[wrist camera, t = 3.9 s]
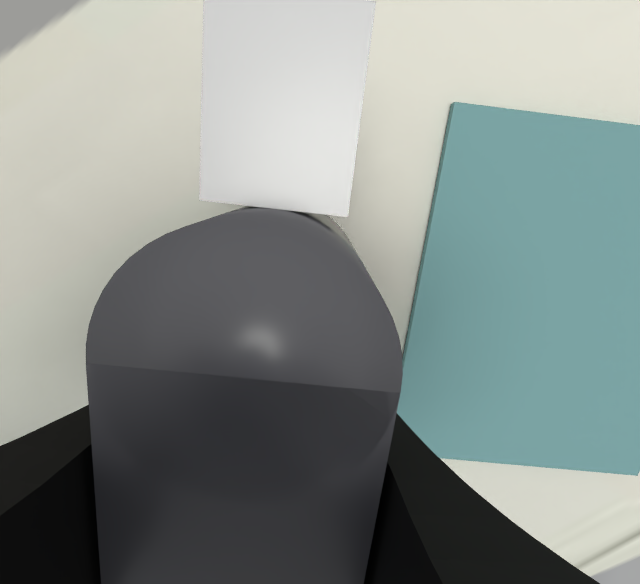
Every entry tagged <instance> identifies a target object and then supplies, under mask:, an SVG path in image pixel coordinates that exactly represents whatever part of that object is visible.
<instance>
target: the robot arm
mask: <svg viewBox="0 0 640 584" xmlns="http://www.w3.org/2000/svg"><path fill="white" fill-rule="evenodd" d="M0 584H101V575H100V560H99V546H98V531H97V517H96V502H95V488H94V473H93V459H92V444H91V430H90V415H89V405H87V406H85V407H83V408H81V409H79V410H77V411H75V412H73V413H71V414H69V415H67V416H65V417H63V418H61V419H58V420H56V421H54V422H52V423H50V424H48V425H46V426H44V427H42V428H39V429H37V430H35V431H33V432H31V433H29V434H27V435H25V436H23V437H20V438H18V439H16V440H13V441H11V442H9V443H7V444H4V445H2V446H0ZM364 584H600V583H598V582H597V581H595V580H594V579H592V578H591V577H589V576H588V575H586V574H585V573H583V572H582V571H580V570H579V569H577V568H576V567H574V566H573V565H571V564H570V563H568V562H567V561H566V560H564V559H563V558H561V557H560V556H559V555H557V554H556V553H554V552H553V551H552V550H550V549H549V548H547V547H546V546H545V545H543V544H542V543H540V542H539V541H538V540H536V539H535V538H533V537H532V536H531V535H529V534H528V533H527V532H525V531H524V530H523V529H521V528H520V527H519V526H517V525H516V524H515V523H513V522H512V521H511V520H510V519H508V518H507V517H506V516H505V515H503V514H502V513H501V512H500V511H499V510H497V509H496V508H495V507H494V506H492V505H491V504H490V503H489V502H488V501H486V500H485V499H484V498H483V497H481V496H480V495H479V494H478V493H477V492H475V491H474V490H473V489H472V488H471V487H470V486H469V485H467V484H466V483H465V482H464V481H463V480H462V479H461V478H460V477H459V476H458V475H456V474H455V473H454V472H453V471H452V470H451V469H450V468H449V467H448V466H447V465H446V464H445V463H444V462H443V461H442V460H441V459H440V458H439V457H438V456H437V455H436V454H435V453H434V452H433V451H432V450H431V449H430V448H429V447H428V446H427V445H426V444H425V443H424V442H423V441H422V440H421V439H420V438H419V437H418V436H417V435H416V434H415V433H414V432H413V431H412V429H411V428H410V427H409V426H408V425H407V424H406V423H405V422H404V421H403V419H402V418H401V417H400V416H399V415H398V414H396V419H395V424H394V429H393V435H392V440H391V445H390V450H389V455H388V460H387V466H386V471H385V476H384V481H383V486H382V491H381V497H380V502H379V507H378V512H377V517H376V522H375V527H374V533H373V538H372V543H371V548H370V553H369V558H368V564H367V569H366V574H365V579H364Z"/></svg>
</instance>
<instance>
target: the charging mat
mask: <svg viewBox="0 0 640 584" xmlns="http://www.w3.org/2000/svg"><path fill="white" fill-rule="evenodd" d="M402 365H403V377H402V385H401V393H400V398H399V404H398V409H397V414H398V415H399V416H400V417H401V418H402V419H403V421H404V422H405V423H406V424H407V425H408V426H409V427H410V428H411V429H412V431H413V432H414V433H415V434H416V435H417V436H418V437H419V438H420V439H421V440H422V441H423V442H424V443H425V444H426V445H427V446H428V447H429V448H430V449H431V450H432V451H433V452H434V453H435V454H436V455H437V456H438V457H439V458H445V459H456V460H468V461H479V462H490V463H501V464H513V465H524V466H535V467H546V468H558V469H569V470H580V471H591V472H602V473H614V474H625V475H636V476H638V473H639V471H640V125H633V124H625V123H617V122H609V121H601V120H593V119H585V118H577V117H570V116H562V115H554V114H546V113H538V112H530V111H522V110H514V109H506V108H498V107H490V106H482V105H475V104H467V103H459V102H454V103H452V104H451V107H450V112H449V118H448V123H447V128H446V133H445V139H444V144H443V149H442V154H441V160H440V165H439V170H438V175H437V181H436V186H435V191H434V196H433V202H432V207H431V212H430V217H429V223H428V228H427V233H426V238H425V244H424V249H423V254H422V259H421V265H420V270H419V275H418V280H417V286H416V291H415V296H414V301H413V307H412V312H411V317H410V322H409V328H408V333H407V338H406V343H405V349H404V354H403V359H402Z"/></svg>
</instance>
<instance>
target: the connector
mask: <svg viewBox="0 0 640 584" xmlns="http://www.w3.org/2000/svg"><path fill="white" fill-rule="evenodd" d="M375 5H376V1H370V0H204V4H203V51H202V98H201V145H200V192H199V200H201V201H210V202H218V203H227V204H236V205H245V206H246V207H243V208H240V209H237V210H234V211H231V212H228V213H225V214H222V215H219V216H216V217H213V218H210V219H207V220H204V221H201V222H197V223H194V224H191V225H188V226H186V227H183V228H180V229H178V230H175V231H172V232H170V233H167V234H165V235H163V236H161V237H160V238H158V239H156V240H154V241H152V242H150V243H149V244H147V245H146V246H144V247H143V248H142V249H140V250H139V251H138V252H136V253H135V254H134V255H132V256H131V257H130V258H129V259H128V260H127V261H126V262H125V263H124V264H123V265H122V266H121V267H120V268H119V269H118V270H117V271H116V272H115V274H114V275H113V277H112V278H111V279H110V281H109V282H108V284H107V285H106V286H105V288H104V289H103V291H102V293H101V295H100V297H99V299H98V301H97V303H96V305H95V308H94V311H93V314H92V317H91V320H90V323H89V328H88V334H87V341H86V372H87V386H88V401H89V415H90V430H91V444H92V459H93V473H94V488H95V502H96V517H97V531H98V546H99V560H100V575H101V584H364V579H365V574H366V569H367V564H368V558H369V553H370V548H371V543H372V538H373V533H374V527H375V522H376V517H377V512H378V507H379V502H380V497H381V491H382V486H383V481H384V476H385V471H386V466H387V460H388V455H389V450H390V445H391V440H392V435H393V429H394V424H395V419H396V414H397V409H398V404H399V398H400V393H401V385H402V377H403V365H402V352H401V346H400V340H399V336H398V333H397V330H396V327H395V323H394V320H393V318H392V316H391V314H390V312H389V310H388V308H387V306H386V304H385V302H384V300H383V298H382V296H381V294H380V293H379V291H378V289H377V287H376V286H375V284H374V282H373V280H372V279H371V277H370V275H369V273H368V272H367V270H366V268H365V267H364V265H363V263H362V261H361V260H360V258H359V256H358V254H357V253H356V251H355V249H354V247H353V246H352V244H351V242H350V240H349V239H348V237H347V236H346V234H345V233H344V231H343V230H342V229H341V228H340V227H339V226H338V225H337V223H335V222H334V221H333V220H332V219H331V218H330V217H328V216H327V215H333V216H342V217H348V213H349V205H350V197H351V190H352V182H353V174H354V166H355V159H356V151H357V143H358V136H359V128H360V120H361V113H362V105H363V97H364V90H365V82H366V74H367V67H368V59H369V51H370V44H371V36H372V28H373V21H374V13H375Z"/></svg>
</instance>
